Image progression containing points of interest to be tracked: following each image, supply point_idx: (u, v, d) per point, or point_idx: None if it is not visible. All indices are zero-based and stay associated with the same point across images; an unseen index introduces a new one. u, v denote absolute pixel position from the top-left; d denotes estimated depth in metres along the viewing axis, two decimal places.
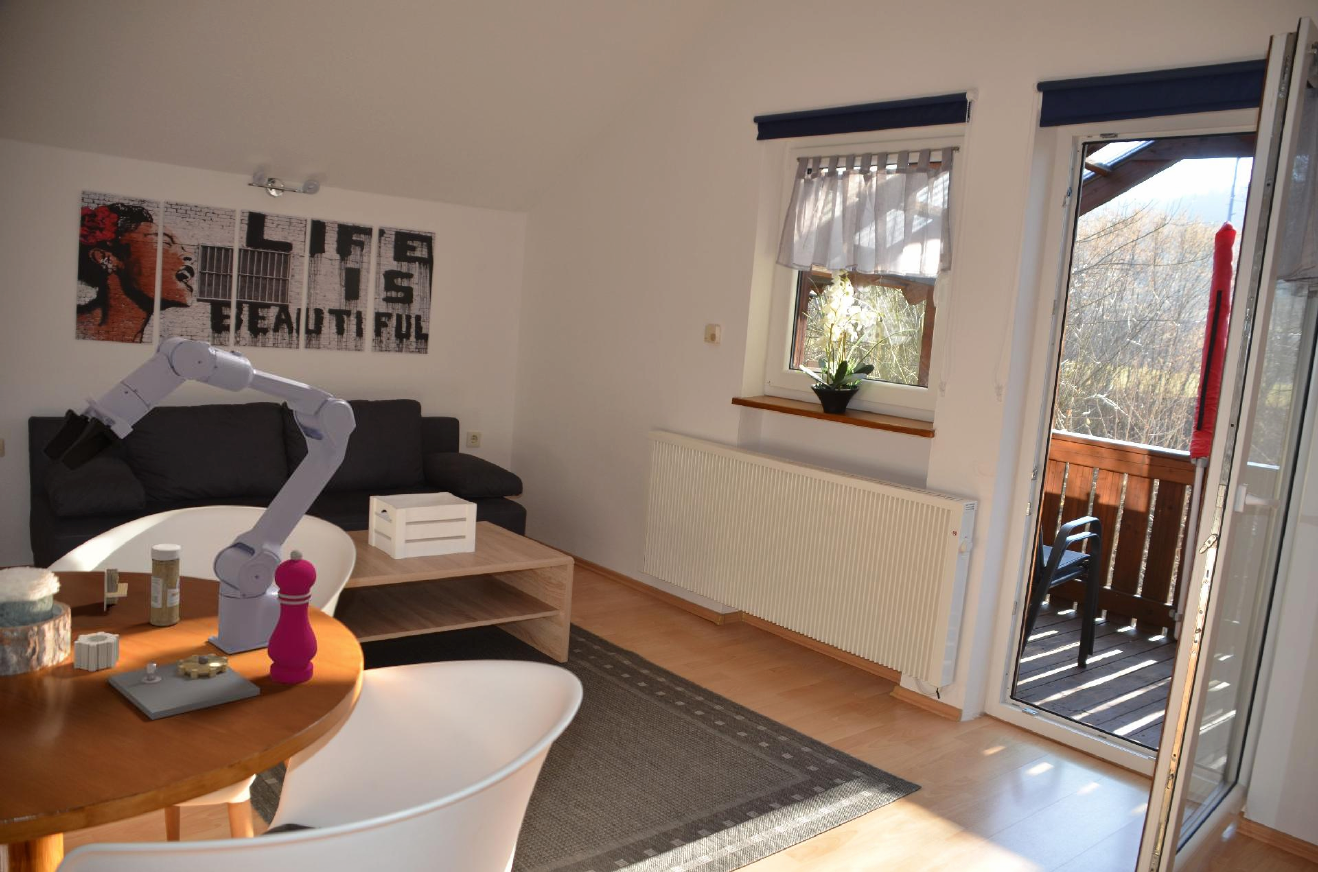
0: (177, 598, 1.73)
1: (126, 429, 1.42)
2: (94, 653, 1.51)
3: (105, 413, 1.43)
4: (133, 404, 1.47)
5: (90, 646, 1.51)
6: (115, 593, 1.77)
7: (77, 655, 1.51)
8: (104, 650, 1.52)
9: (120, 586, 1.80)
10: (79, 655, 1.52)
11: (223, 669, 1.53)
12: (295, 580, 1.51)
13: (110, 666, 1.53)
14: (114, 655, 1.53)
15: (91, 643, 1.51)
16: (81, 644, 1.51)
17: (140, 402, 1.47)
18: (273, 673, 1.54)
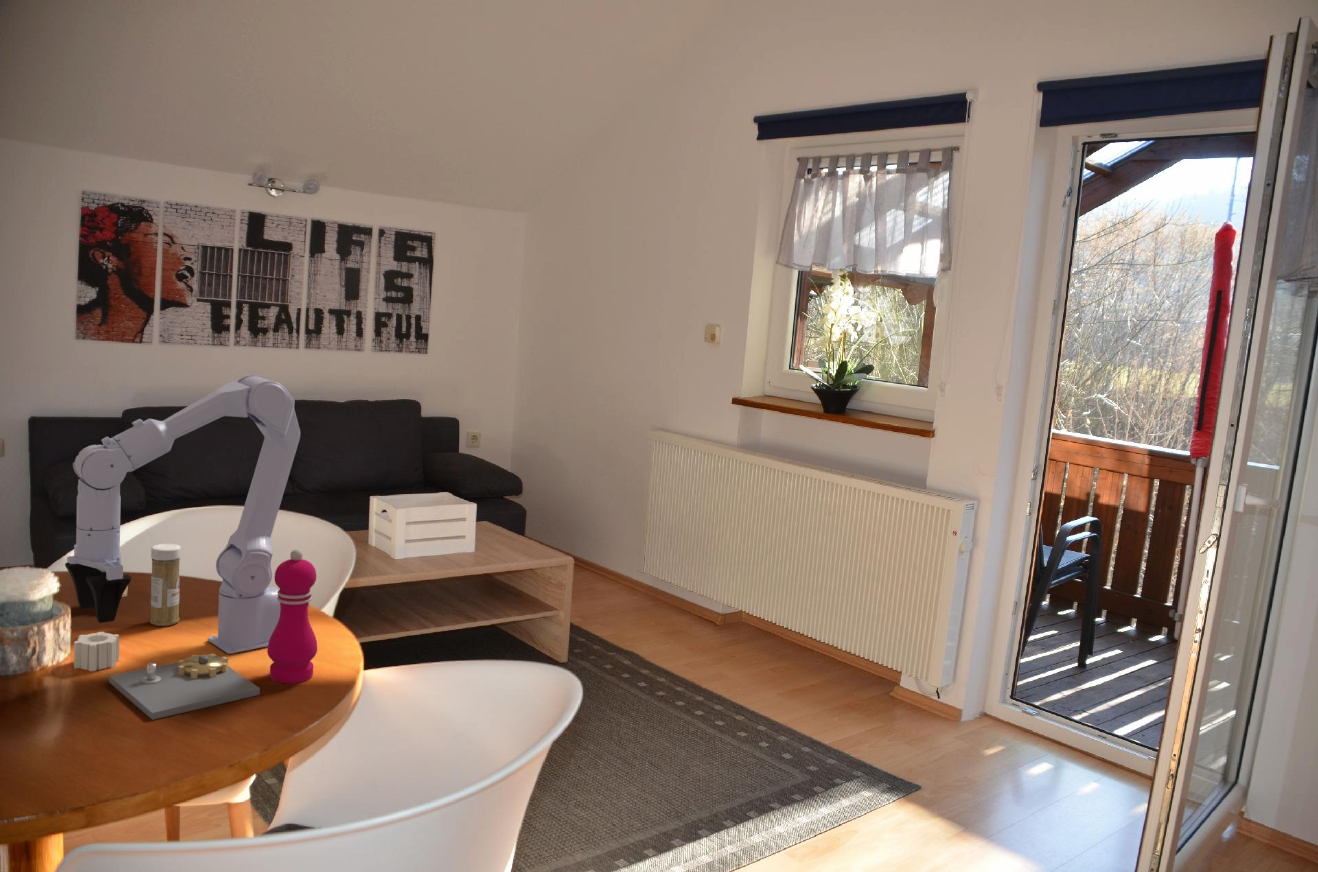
0: (177, 598, 1.73)
1: (118, 570, 1.47)
2: (94, 653, 1.51)
3: (91, 566, 1.48)
4: (104, 539, 1.49)
5: (90, 646, 1.51)
6: None
7: (77, 655, 1.51)
8: (104, 650, 1.52)
9: None
10: (79, 655, 1.52)
11: (223, 669, 1.53)
12: (295, 580, 1.51)
13: (110, 666, 1.53)
14: (114, 655, 1.53)
15: (91, 643, 1.51)
16: (81, 644, 1.51)
17: (106, 532, 1.49)
18: (273, 673, 1.54)
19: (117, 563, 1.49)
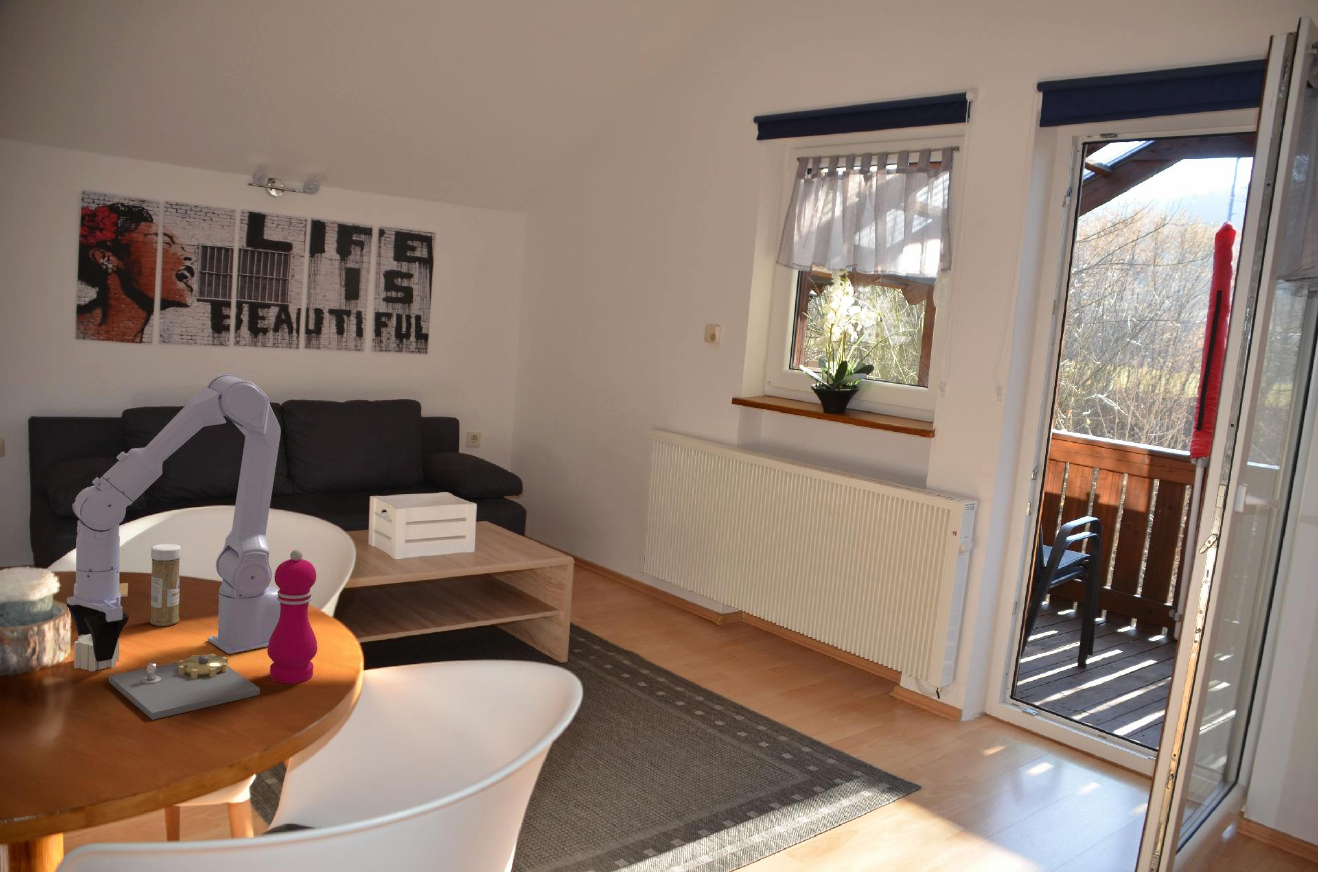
0: (177, 598, 1.73)
1: (117, 611, 1.48)
2: None
3: (91, 607, 1.49)
4: (103, 580, 1.50)
5: (90, 646, 1.51)
6: None
7: (77, 655, 1.51)
8: None
9: (120, 586, 1.80)
10: (79, 655, 1.52)
11: (223, 669, 1.53)
12: (295, 580, 1.51)
13: (110, 666, 1.53)
14: (114, 655, 1.53)
15: (91, 643, 1.51)
16: (81, 644, 1.51)
17: (106, 573, 1.50)
18: (273, 673, 1.54)
19: (116, 604, 1.50)
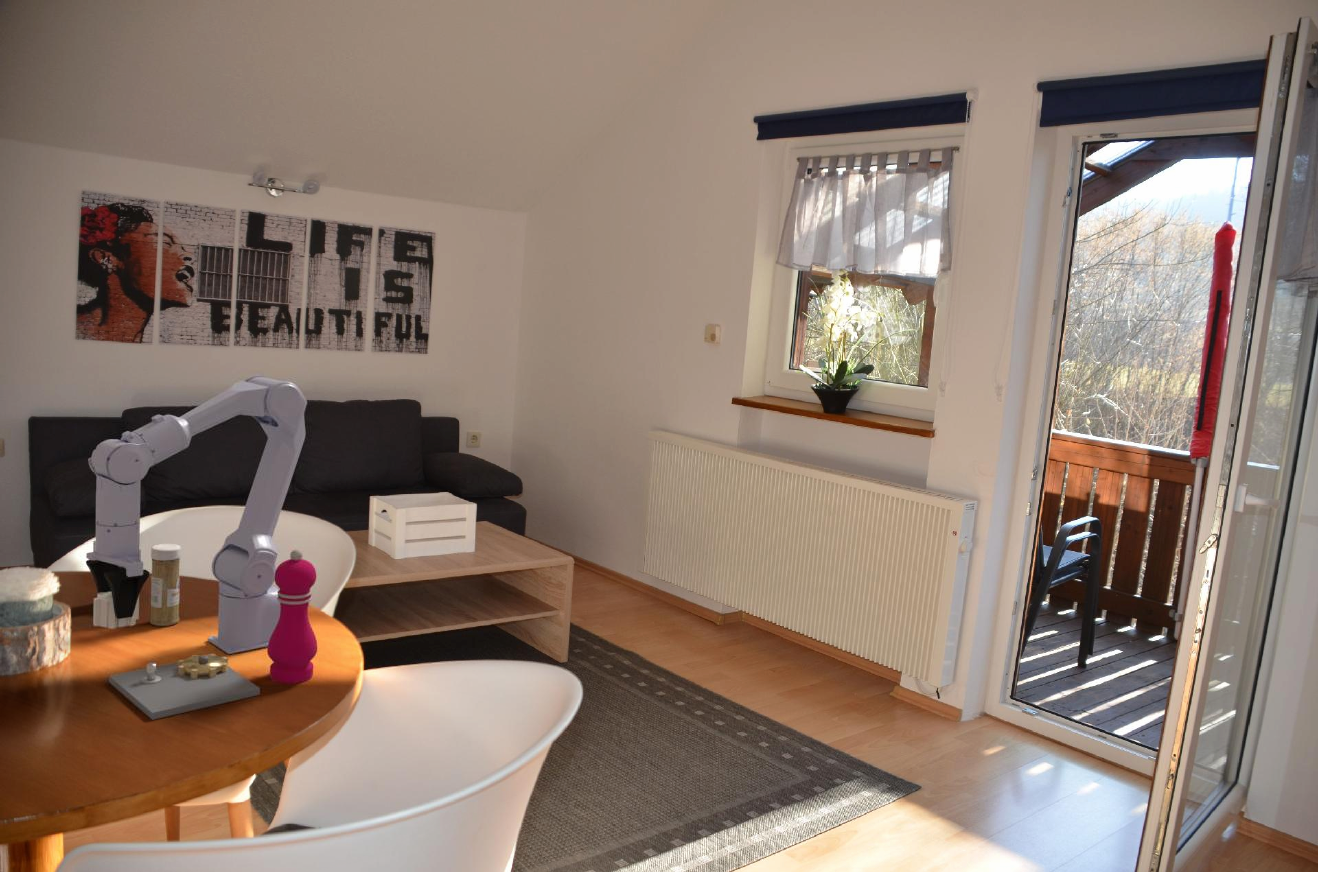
0: (177, 598, 1.73)
1: (138, 567, 1.45)
2: None
3: (111, 562, 1.46)
4: (123, 535, 1.47)
5: (110, 603, 1.47)
6: None
7: (96, 612, 1.48)
8: None
9: None
10: (98, 612, 1.48)
11: (223, 669, 1.53)
12: (295, 580, 1.51)
13: (130, 624, 1.50)
14: (134, 613, 1.50)
15: (111, 600, 1.48)
16: (101, 601, 1.48)
17: (126, 528, 1.47)
18: (273, 673, 1.54)
19: (137, 559, 1.47)
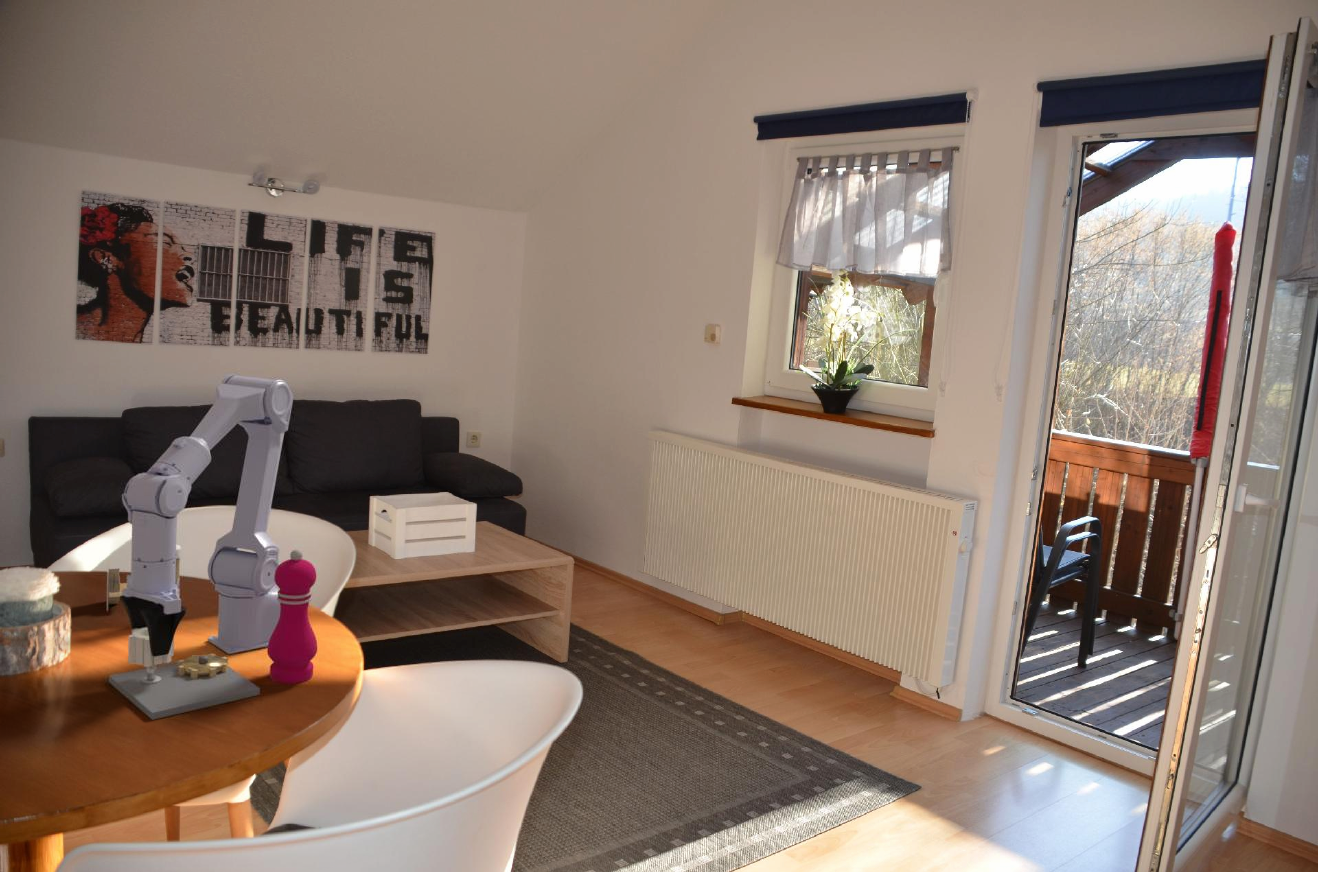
0: None
1: (176, 604, 1.41)
2: None
3: (148, 599, 1.42)
4: (160, 570, 1.43)
5: (146, 640, 1.44)
6: (117, 592, 1.77)
7: (132, 650, 1.44)
8: None
9: (121, 586, 1.80)
10: (134, 650, 1.45)
11: (223, 669, 1.53)
12: (295, 580, 1.51)
13: (165, 661, 1.46)
14: (170, 650, 1.46)
15: (146, 637, 1.44)
16: (136, 638, 1.44)
17: (163, 564, 1.43)
18: (273, 673, 1.54)
19: (174, 596, 1.43)
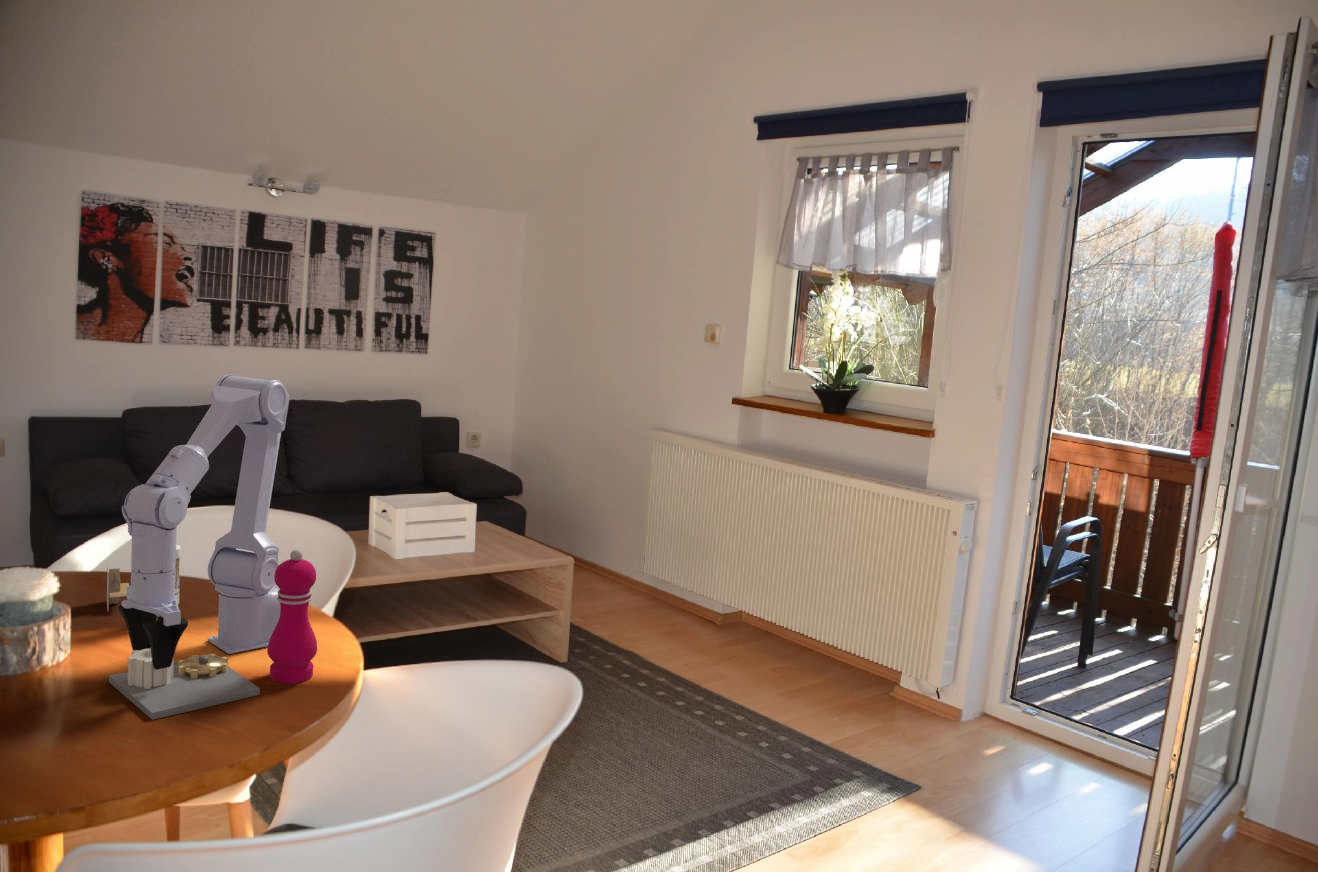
0: (177, 598, 1.73)
1: (175, 615, 1.41)
2: (149, 670, 1.44)
3: (148, 610, 1.42)
4: (160, 582, 1.43)
5: (145, 662, 1.44)
6: (118, 592, 1.77)
7: (131, 672, 1.45)
8: None
9: (121, 586, 1.80)
10: (133, 672, 1.45)
11: (223, 669, 1.53)
12: (295, 580, 1.51)
13: (165, 683, 1.46)
14: (169, 671, 1.47)
15: (146, 659, 1.45)
16: (136, 660, 1.45)
17: (162, 575, 1.43)
18: (273, 673, 1.54)
19: (174, 607, 1.43)
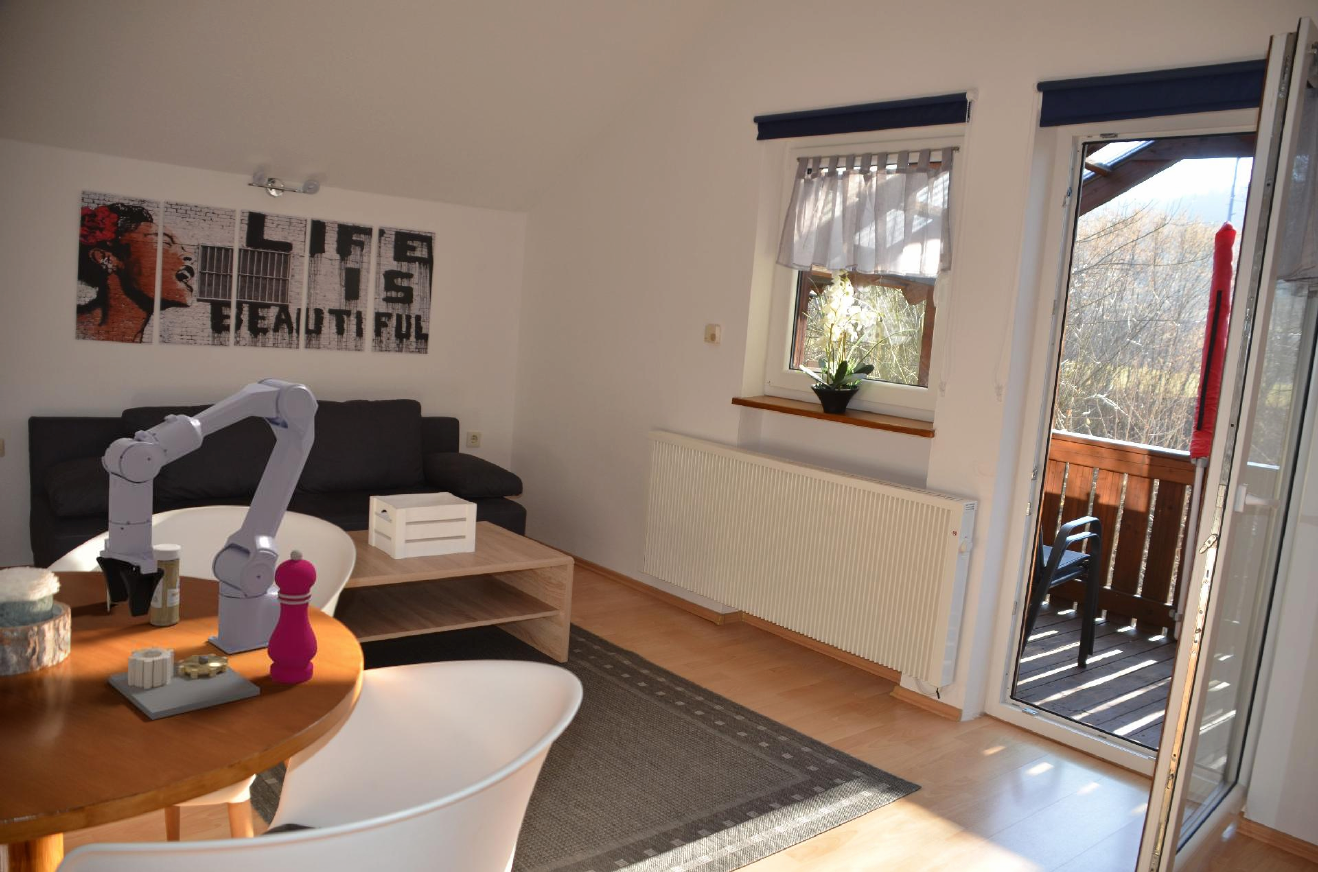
0: (177, 598, 1.73)
1: (152, 564, 1.47)
2: (149, 670, 1.44)
3: (125, 559, 1.47)
4: (137, 532, 1.49)
5: (145, 662, 1.44)
6: None
7: (131, 672, 1.45)
8: (159, 666, 1.46)
9: None
10: (133, 672, 1.45)
11: (223, 669, 1.53)
12: (295, 580, 1.51)
13: (165, 683, 1.46)
14: (169, 671, 1.47)
15: (146, 659, 1.45)
16: (136, 660, 1.45)
17: (139, 526, 1.49)
18: (273, 673, 1.54)
19: (150, 557, 1.49)
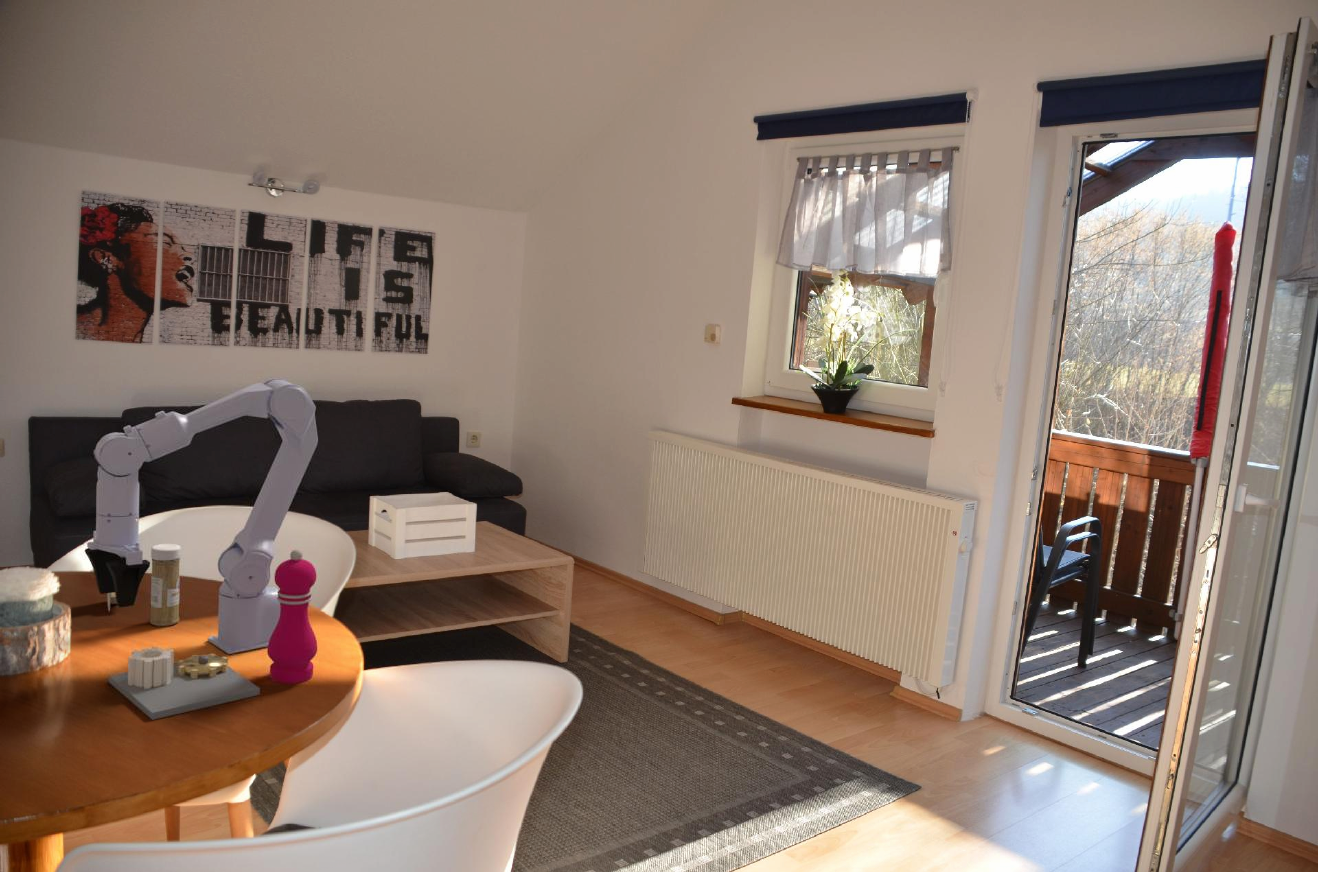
0: (177, 598, 1.73)
1: (137, 555, 1.50)
2: (149, 670, 1.44)
3: (111, 551, 1.51)
4: (123, 525, 1.52)
5: (145, 662, 1.44)
6: None
7: (131, 672, 1.45)
8: (159, 666, 1.46)
9: None
10: (133, 672, 1.45)
11: (223, 669, 1.53)
12: (295, 580, 1.51)
13: (165, 683, 1.46)
14: (169, 671, 1.47)
15: (146, 659, 1.45)
16: (136, 660, 1.45)
17: (126, 518, 1.52)
18: (273, 673, 1.54)
19: (136, 548, 1.52)
